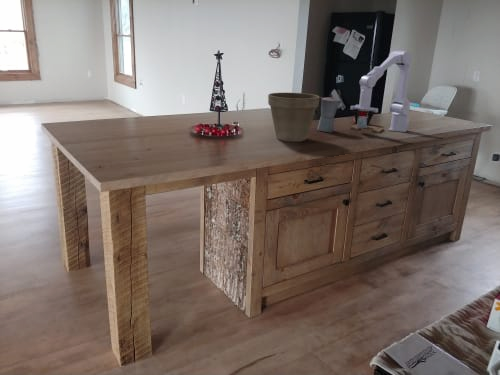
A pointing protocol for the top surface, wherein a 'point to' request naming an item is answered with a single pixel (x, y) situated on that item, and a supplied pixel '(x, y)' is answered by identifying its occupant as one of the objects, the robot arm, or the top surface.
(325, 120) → the moka pot
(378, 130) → the brown wooden panels
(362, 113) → the canned food
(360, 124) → the grey round flask
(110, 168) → the top surface
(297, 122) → the plant pot
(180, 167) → the top surface
